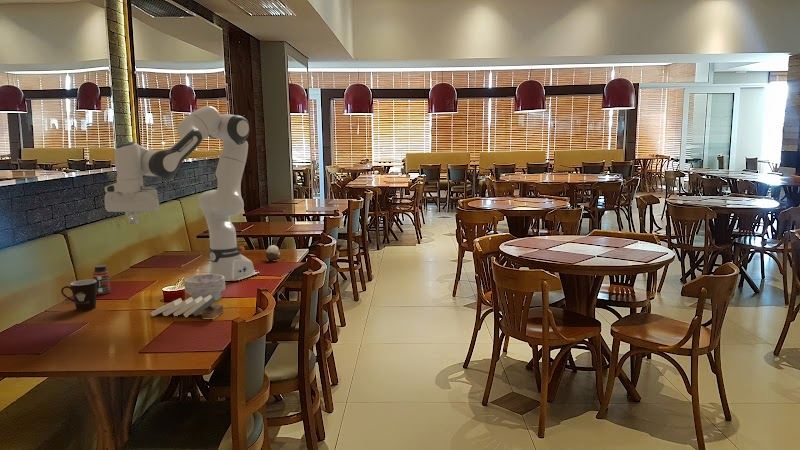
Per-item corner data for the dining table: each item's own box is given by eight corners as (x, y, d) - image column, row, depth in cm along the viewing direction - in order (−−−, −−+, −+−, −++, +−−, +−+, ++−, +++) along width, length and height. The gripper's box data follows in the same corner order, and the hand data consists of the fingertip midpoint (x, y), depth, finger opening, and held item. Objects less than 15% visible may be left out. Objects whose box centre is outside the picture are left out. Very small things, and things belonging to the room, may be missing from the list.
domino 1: (150, 312, 211) (173, 301, 209) (158, 308, 216) (180, 297, 214) (152, 316, 211) (175, 305, 209) (160, 312, 216) (182, 301, 214)
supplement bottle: (104, 295, 240) (101, 267, 238) (91, 294, 241) (88, 267, 239) (113, 291, 246) (111, 264, 244) (101, 290, 247) (98, 264, 245)
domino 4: (183, 314, 209) (203, 298, 207) (190, 309, 214) (210, 294, 212) (185, 317, 210) (206, 302, 207) (192, 313, 214) (213, 298, 212)
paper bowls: (214, 290, 246) (213, 271, 244) (233, 297, 235) (232, 277, 234) (178, 297, 235) (177, 278, 234) (196, 305, 224) (195, 284, 223)
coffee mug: (104, 306, 225) (101, 280, 223) (85, 312, 217) (83, 286, 215) (80, 303, 229) (77, 278, 227) (61, 310, 221) (58, 283, 219)
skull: (262, 255, 308) (275, 240, 307) (278, 268, 308) (290, 254, 307) (256, 259, 296) (269, 244, 295) (272, 273, 296) (285, 258, 295)
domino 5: (192, 312, 209) (213, 296, 207) (199, 308, 214) (219, 293, 212) (195, 316, 209) (216, 300, 207) (202, 312, 214) (222, 296, 212)
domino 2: (162, 313, 211) (184, 300, 209) (169, 308, 216) (191, 296, 213) (164, 317, 211) (186, 304, 209) (172, 312, 216) (193, 300, 214)
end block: (202, 319, 207) (201, 311, 207) (212, 312, 215) (212, 304, 214) (213, 320, 206) (212, 311, 206) (223, 313, 214) (222, 305, 214)
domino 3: (172, 313, 210) (194, 299, 208) (180, 309, 215) (201, 295, 213) (175, 317, 210) (196, 303, 208) (182, 313, 215) (203, 299, 213)
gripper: (161, 185, 223) (164, 222, 225) (111, 185, 226) (114, 222, 228) (151, 187, 217) (155, 225, 219) (100, 187, 220) (104, 224, 222)
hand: (134, 223), depth 223 cm, fingers closed
